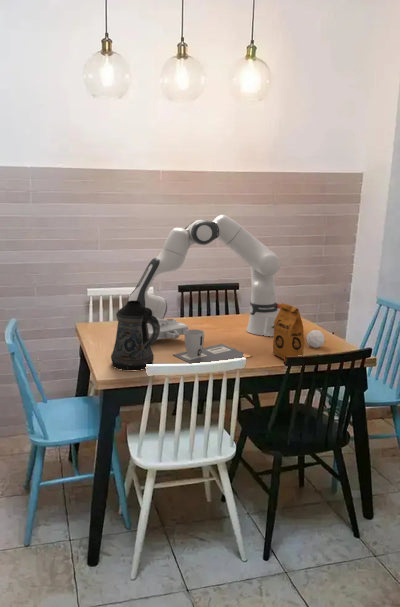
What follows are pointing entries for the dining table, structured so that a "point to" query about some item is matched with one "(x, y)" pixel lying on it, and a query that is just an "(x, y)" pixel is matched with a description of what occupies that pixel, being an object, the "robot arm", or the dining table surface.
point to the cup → (194, 342)
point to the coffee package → (288, 332)
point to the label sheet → (212, 354)
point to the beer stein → (134, 337)
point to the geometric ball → (315, 338)
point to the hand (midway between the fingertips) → (176, 336)
